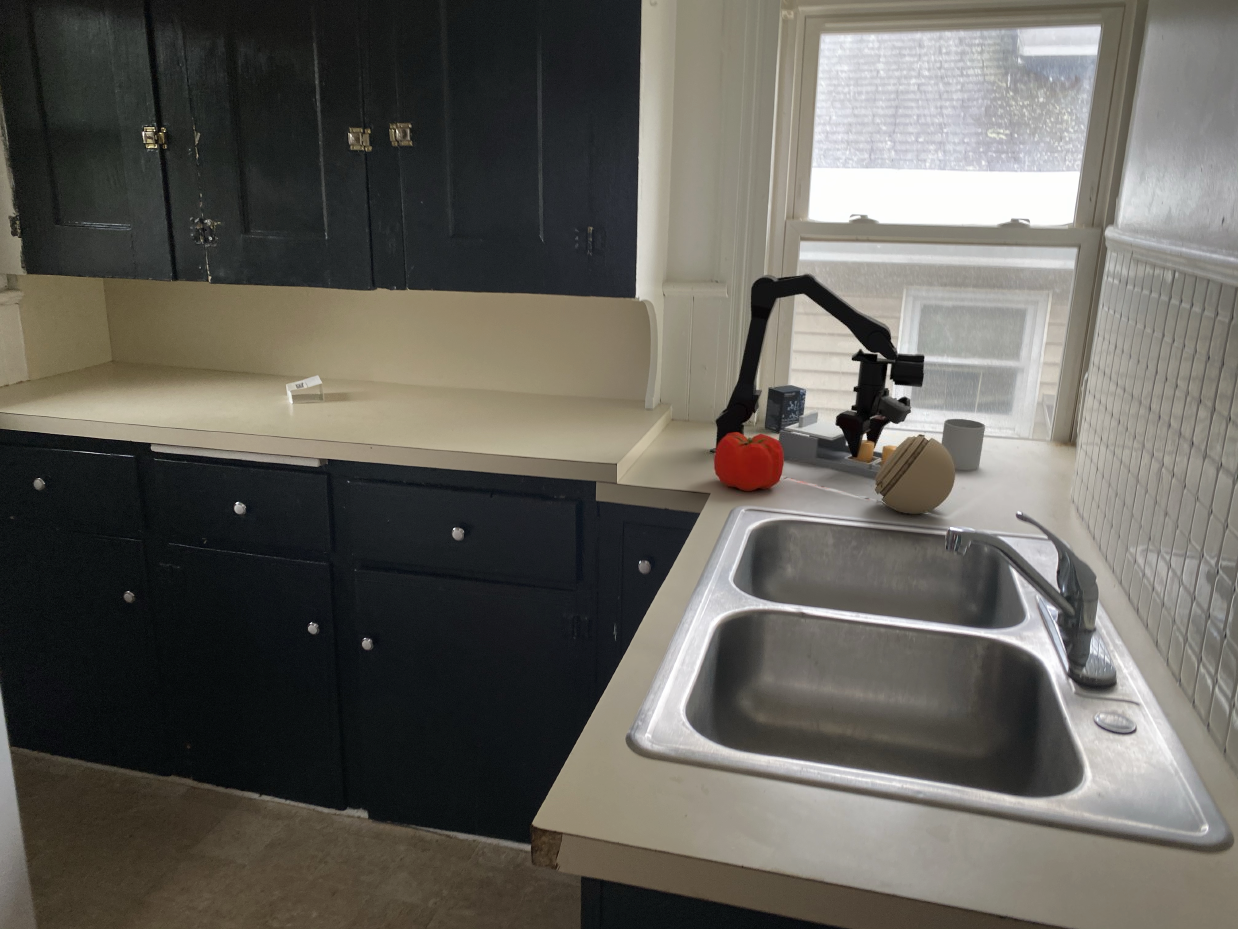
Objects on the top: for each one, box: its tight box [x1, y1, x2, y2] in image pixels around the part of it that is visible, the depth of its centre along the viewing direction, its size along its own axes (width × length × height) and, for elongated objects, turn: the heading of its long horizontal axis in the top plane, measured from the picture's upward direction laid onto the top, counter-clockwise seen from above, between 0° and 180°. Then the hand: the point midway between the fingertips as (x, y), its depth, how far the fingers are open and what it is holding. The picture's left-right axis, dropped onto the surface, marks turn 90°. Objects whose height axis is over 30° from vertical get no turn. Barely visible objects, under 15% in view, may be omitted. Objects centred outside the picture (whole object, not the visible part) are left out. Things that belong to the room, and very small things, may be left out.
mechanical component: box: [874, 433, 956, 515], centre depth 179 cm, size 15×15×15 cm
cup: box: [940, 418, 986, 471], centre depth 210 cm, size 8×8×10 cm
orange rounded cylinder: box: [853, 439, 875, 463], centre depth 208 cm, size 4×4×5 cm
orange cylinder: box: [881, 445, 898, 466], centre depth 204 cm, size 4×4×5 cm
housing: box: [778, 430, 882, 479], centre depth 210 cm, size 15×26×6 cm, turn 51°
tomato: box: [713, 432, 785, 492], centre depth 191 cm, size 14×13×10 cm
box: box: [764, 384, 807, 434], centre depth 236 cm, size 8×6×11 cm
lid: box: [785, 411, 844, 440], centre depth 213 cm, size 13×12×3 cm
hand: (863, 453), depth 208 cm, fingers open, 8 cm apart
